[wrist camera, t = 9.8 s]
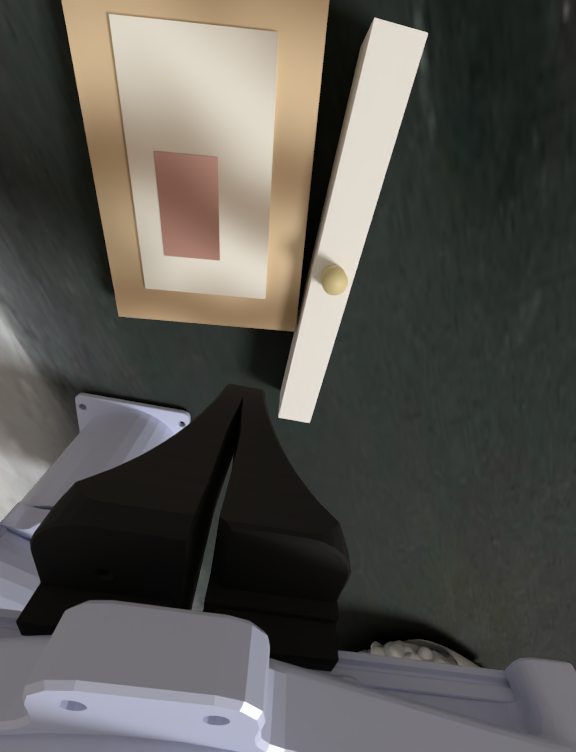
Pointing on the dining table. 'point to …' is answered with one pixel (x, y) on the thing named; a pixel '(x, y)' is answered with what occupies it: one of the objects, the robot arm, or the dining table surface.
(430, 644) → the rice ball
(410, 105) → the dining table surface
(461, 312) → the dining table surface
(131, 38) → the frame
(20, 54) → the dining table surface
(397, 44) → the rail
